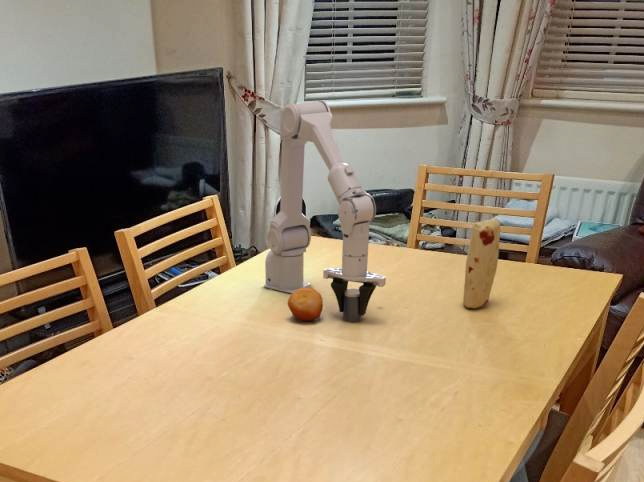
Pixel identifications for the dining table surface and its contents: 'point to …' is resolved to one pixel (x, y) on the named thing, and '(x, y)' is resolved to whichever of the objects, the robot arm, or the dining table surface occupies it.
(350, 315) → the salt shaker
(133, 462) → the dining table surface
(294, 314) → the fruit
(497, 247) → the food model
